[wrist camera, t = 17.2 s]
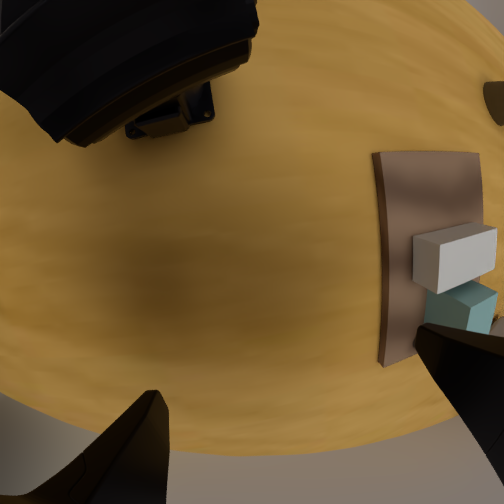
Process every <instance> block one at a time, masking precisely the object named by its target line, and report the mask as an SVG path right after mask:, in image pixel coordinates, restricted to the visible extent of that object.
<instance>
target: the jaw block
mask: <svg viewBox="0 0 504 504" xmlns="http://www.w3.org/2000/svg"><path fill="white" fill-rule="evenodd" d="M497 296H498V292H496V291H494V290H492V289H490V288H488V287H486V286H484V285H482V284H480V283H477V282H475V281H473V280H470V281H468V282H465V283H463V284H461V285H458V286H456V287H454V288H451V289H449V290H447V291H444V292H442V293H439V294H435V293H434V292H432V291H430V290H428V289H427V299H426V308H425V317H424V323H427V322H428V323H433V324H438V325H443V326H448V327H453V328H458V329H463V330H468V331H473V332H478V333H483V334H489V331H490V327H491V324H492V319H493V315H494V311H495V306H496V301H497Z"/></svg>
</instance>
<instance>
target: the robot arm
mask: <svg viewBox="0 0 504 504" xmlns="http://www.w3.org/2000/svg"><path fill="white" fill-rule="evenodd" d="M256 4H257V0H0V90H1V91H2V92H4V93H5V94H7V95H8V96H10V97H11V98H13V99H14V100H16V101H17V102H18V103H19V104H21V105H22V106H23V107H25V108H26V109H27V110H28V111H29V113H30V115H31V116H32V118H33V119H34V120H35V122H36V123H37V124H38V125H39V126H40V127H41V128H42V129H43V130H44V131H46V132H47V133H48V134H49V135H50V136H51V138H52V139H53V140H54V141H55V142H56V143H59V142H60V141H61V140H62V139H63V138H64V139H65V140H67V141H68V142H70V143H71V144H74V145H77V146H80V147H84V148H86V147H87V146H89V145H90V144H92V143H97V142H99V141H102V140H103V139H105V138H106V137H108V136H109V135H110V134H112V133H114V132H115V131H117V130H118V129H120V128H121V127H123V126H124V125H125V132H126V136H127V137H128V138H130V139H137V138H141V137H144V136H148V135H149V136H150V137H152V138H157V137H161V136H165V135H169V134H173V133H177V132H182V131H186V130H187V129H188V128H189V125H194V124H199V123H204V122H209V121H212V120H213V119H214V117H215V112H214V106H213V99H212V93H211V87H210V80H212V79H215V78H217V77H220V76H222V75H225V74H227V73H230V72H232V71H235V70H236V69H237V68H238V67H239V66H240V65H241V64H244V63H247V62H248V60H249V58H250V55H251V49H252V42H251V39H252V38H254V37H255V35H256V34H257V30H258V27H259V20H258V16H257V10H256V7H255V6H256ZM206 112H210V113H211V116H210V117H205V116H204V114H205V113H206ZM132 130H135V134H134V135H131V131H132ZM415 349H416V351H417V353H418V355H419V356H420V358H421V360H422V361H423V363H424V365H425V366H426V368H427V370H428V371H429V373H430V375H431V376H432V378H433V379H434V381H435V382H436V384H437V385H438V386H439V388H440V389H441V390H442V392H443V393H444V394H445V396H446V397H447V399H448V400H449V401H450V403H451V404H452V406H453V407H454V408H455V410H456V411H457V413H458V414H459V415H460V417H461V418H462V420H463V421H464V423H465V424H466V426H467V427H468V428H469V430H470V431H471V433H472V435H473V436H474V438H475V439H476V441H477V442H478V444H479V445H480V447H481V448H482V450H483V452H484V453H485V454H486V456H487V458H488V460H489V462H490V463H491V465H492V466H493V468H494V470H495V472H496V473H497V475H498V477H499V478H500V480H501V482H502V484H503V486H504V337H500V336H494V335H489V334H483V333H478V332H473V331H468V330H463V329H458V328H453V327H448V326H443V325H438V324H433V323H428V322H427V323H424V324H422V325H420V326H418V328H417V332H416V339H415ZM169 453H170V442H169V410H168V407H167V405H166V403H165V401H164V399H163V397H162V395H161V393H160V392H159V391H158V390H147V391H145V392H144V393H143V394H142V395H141V396H140V397H139V398H138V399H137V400H136V401H135V402H134V403H133V404H132V405H131V406H130V407H129V408H128V409H127V410H126V411H125V412H124V413H123V414H122V415H121V416H120V417H119V418H118V419H116V420H115V421H114V422H113V423H112V424H111V425H110V426H109V427H108V428H107V429H106V430H105V431H104V432H103V433H102V434H101V435H100V436H99V437H98V438H97V439H96V440H95V441H93V442H92V443H91V444H90V445H89V446H88V447H87V448H86V449H85V450H84V451H83V453H81V454H79V456H77V457H76V458H75V459H74V460H73V461H72V462H70V463H69V464H68V465H67V466H66V467H65V468H63V469H62V470H61V471H59V472H58V473H57V474H56V475H54V476H53V477H51V478H50V479H49V480H47V481H46V482H44V483H43V484H41V485H40V486H39V487H37V488H36V489H34V490H33V491H31V492H29V493H27V494H24V495H18V496H9V495H0V504H166V494H167V493H166V492H167V479H168V466H169Z"/></svg>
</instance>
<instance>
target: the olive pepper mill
mask: <svg viewBox="0 0 504 504" xmlns="http://www.w3.org/2000/svg"><path fill="white" fill-rule="evenodd" d="M483 94H484V99H485V102H486V105H487V108H488V110H489V113H490V115H491V116H492V118H493V120H494V121H495V122H496V123H497V124H498V125H500V126H503V125H504V81H496V82H486V83H485V84H484V87H483Z"/></svg>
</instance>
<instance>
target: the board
mask: <svg viewBox="0 0 504 504" xmlns="http://www.w3.org/2000/svg"><path fill="white" fill-rule="evenodd" d="M372 156H373V163H374V169H375V177H376V185H377V194H378V203H379V215H380V228H381V247H382V315H381V333H380V346H379V357H378V362H379V363H380V364H381V366H382V367H383V368H384V367H387V366H389V365H392V364H394V363H396V362H399V361H401V360H404V359H406V358H408V357H410V356H413V355H415V354H417V351H416V349H415V339H416V332H417V328H418V326H420V325H422V324H424V317H425V308H426V299H427V288H425V287H423V286H421V285H420V284H418V283H416V282H414V281H412V280H413V236H415V235H420V234H424V233H429V232H433V231H437V230H441V229H446V228H450V227H454V226H458V225H463V224H467V223H471V222H475V223H479V224H483V192H482V177H481V167H480V158H479V153H469V152H442V151H402V152H378V153H372ZM472 280H473V281H475V282H477V283H479V280H480V276H478V277H476V278H474V279H472Z"/></svg>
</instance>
